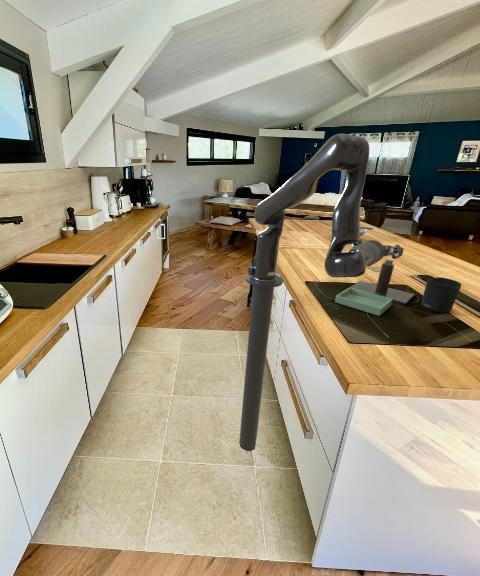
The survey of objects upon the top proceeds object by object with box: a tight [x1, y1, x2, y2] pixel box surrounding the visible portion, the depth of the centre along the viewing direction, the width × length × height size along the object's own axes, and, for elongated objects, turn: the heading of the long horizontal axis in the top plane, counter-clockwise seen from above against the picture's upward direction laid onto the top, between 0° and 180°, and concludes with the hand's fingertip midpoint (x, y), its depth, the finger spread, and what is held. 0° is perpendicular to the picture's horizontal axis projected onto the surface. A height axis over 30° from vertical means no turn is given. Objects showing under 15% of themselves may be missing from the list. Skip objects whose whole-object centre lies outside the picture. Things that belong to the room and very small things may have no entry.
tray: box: [334, 286, 393, 317], centre depth 114 cm, size 15×12×3 cm
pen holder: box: [421, 276, 462, 314], centre depth 110 cm, size 9×9×10 cm
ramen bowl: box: [329, 225, 374, 239], centre depth 209 cm, size 25×23×8 cm
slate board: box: [349, 280, 415, 306], centre depth 123 cm, size 20×12×1 cm, turn 43°
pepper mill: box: [376, 258, 395, 293], centre depth 121 cm, size 4×4×13 cm
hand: (383, 245), depth 109 cm, fingers open, 8 cm apart
